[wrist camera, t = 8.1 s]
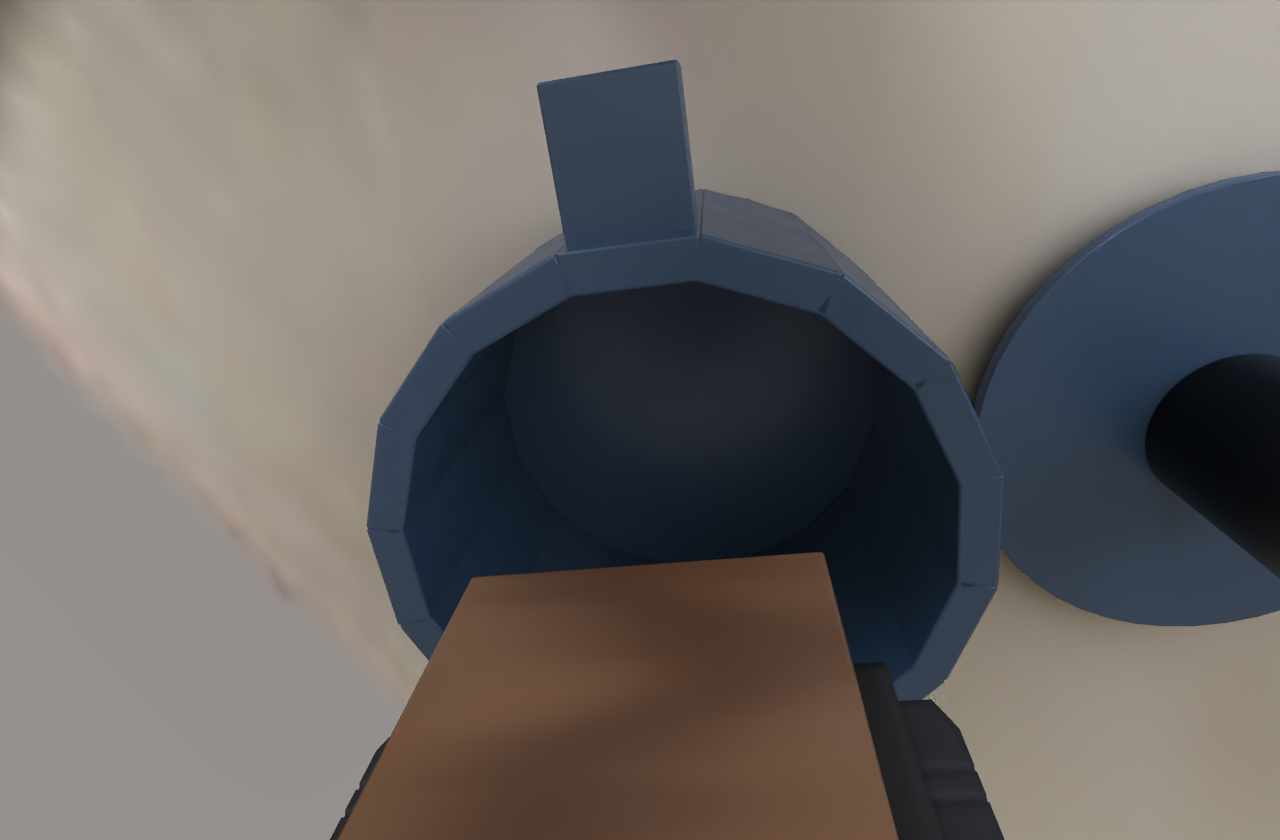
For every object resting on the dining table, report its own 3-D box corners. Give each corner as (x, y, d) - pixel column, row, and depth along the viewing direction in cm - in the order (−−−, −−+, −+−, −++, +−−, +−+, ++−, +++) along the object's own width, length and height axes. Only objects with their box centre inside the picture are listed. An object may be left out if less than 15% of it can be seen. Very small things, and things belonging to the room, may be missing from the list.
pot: (892, 46, 18) (1029, -5, 10) (899, 625, 25) (985, 859, 17) (419, 125, 20) (232, 131, 12) (545, 646, 27) (477, 866, 19)
